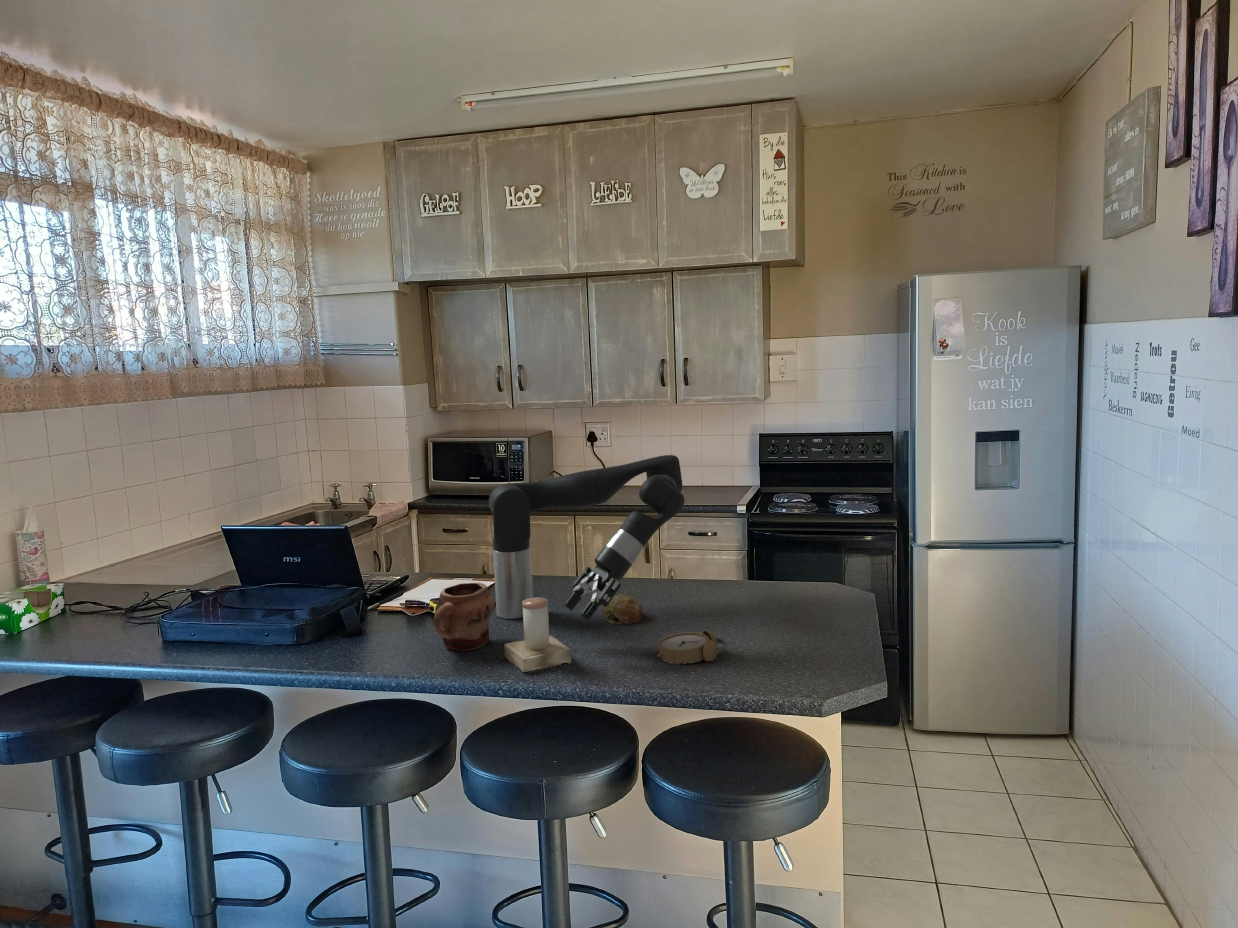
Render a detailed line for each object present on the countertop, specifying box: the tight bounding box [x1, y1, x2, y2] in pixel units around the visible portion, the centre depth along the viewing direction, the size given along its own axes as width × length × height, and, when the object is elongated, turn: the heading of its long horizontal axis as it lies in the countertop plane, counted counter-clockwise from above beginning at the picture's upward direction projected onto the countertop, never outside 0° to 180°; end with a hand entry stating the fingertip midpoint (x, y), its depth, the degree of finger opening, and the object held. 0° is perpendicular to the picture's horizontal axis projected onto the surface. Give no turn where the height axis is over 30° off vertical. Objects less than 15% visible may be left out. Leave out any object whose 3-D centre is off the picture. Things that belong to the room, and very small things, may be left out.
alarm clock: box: [656, 630, 728, 664], centre depth 182 cm, size 11×5×15 cm
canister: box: [522, 596, 550, 650], centre depth 182 cm, size 6×6×10 cm
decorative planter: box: [433, 581, 496, 652], centre depth 191 cm, size 20×12×14 cm, turn 161°
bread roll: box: [602, 593, 643, 625], centre depth 209 cm, size 10×10×8 cm
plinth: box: [504, 634, 572, 673], centre depth 182 cm, size 11×11×3 cm
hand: (575, 612), depth 185 cm, fingers open, 8 cm apart
